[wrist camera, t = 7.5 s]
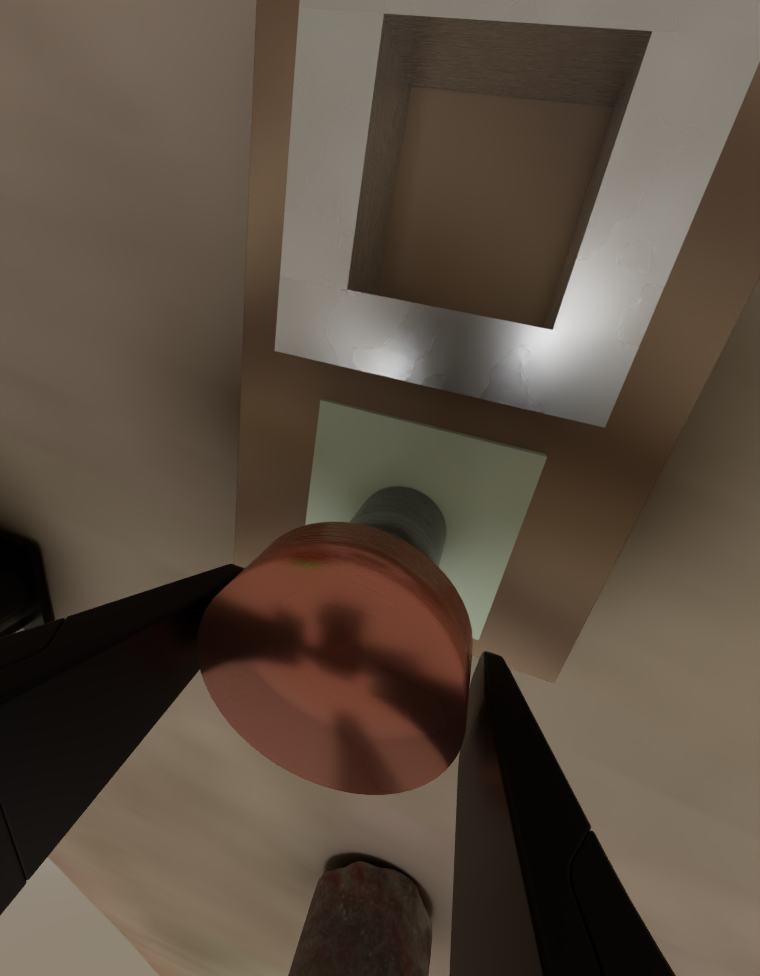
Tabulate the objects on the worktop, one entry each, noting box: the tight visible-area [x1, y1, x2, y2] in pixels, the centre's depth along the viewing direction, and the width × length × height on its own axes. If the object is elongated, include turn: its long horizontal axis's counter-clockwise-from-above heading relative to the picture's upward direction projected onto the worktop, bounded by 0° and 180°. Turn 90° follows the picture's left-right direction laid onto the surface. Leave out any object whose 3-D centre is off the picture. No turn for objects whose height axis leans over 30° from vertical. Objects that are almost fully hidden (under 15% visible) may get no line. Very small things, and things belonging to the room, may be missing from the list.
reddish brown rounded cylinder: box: [197, 486, 473, 795], centre depth 10 cm, size 5×5×7 cm
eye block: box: [275, 0, 760, 428], centre depth 9 cm, size 8×8×2 cm
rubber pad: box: [305, 399, 547, 640], centre depth 14 cm, size 7×7×1 cm
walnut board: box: [234, 0, 760, 683], centre depth 13 cm, size 18×13×2 cm
